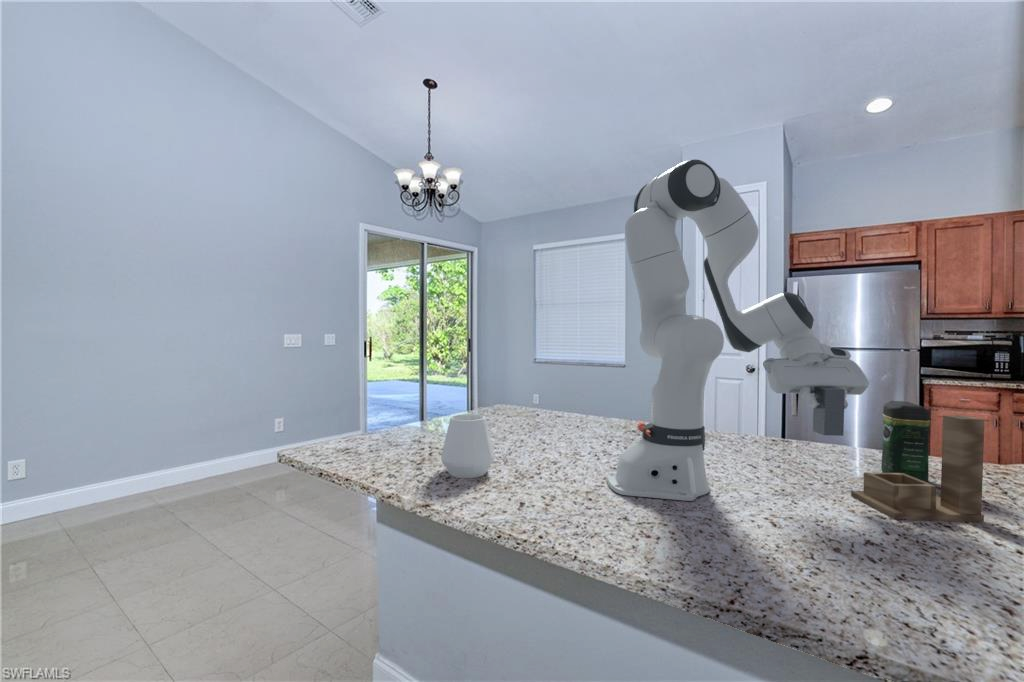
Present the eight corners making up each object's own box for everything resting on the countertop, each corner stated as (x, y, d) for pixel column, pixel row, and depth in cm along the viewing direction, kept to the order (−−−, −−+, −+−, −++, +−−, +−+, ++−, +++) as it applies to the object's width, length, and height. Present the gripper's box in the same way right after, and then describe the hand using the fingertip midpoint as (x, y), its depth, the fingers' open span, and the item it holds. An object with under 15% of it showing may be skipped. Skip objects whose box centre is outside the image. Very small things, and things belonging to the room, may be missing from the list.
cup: (486, 462, 122) (486, 410, 122) (501, 478, 109) (501, 420, 109) (436, 466, 118) (436, 413, 118) (446, 483, 105) (446, 424, 105)
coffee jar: (934, 487, 104) (937, 406, 103) (891, 482, 107) (893, 404, 106) (915, 474, 113) (918, 400, 112) (876, 470, 116) (878, 398, 115)
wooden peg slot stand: (894, 519, 86) (897, 418, 86) (851, 496, 98) (853, 407, 98) (983, 521, 85) (987, 420, 85) (928, 497, 97) (931, 408, 97)
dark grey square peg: (824, 435, 98) (825, 389, 98) (812, 431, 102) (814, 386, 102) (843, 435, 98) (844, 389, 97) (831, 431, 102) (832, 386, 101)
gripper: (765, 349, 107) (787, 397, 97) (855, 350, 106) (886, 399, 96) (755, 367, 111) (775, 414, 102) (842, 368, 110) (870, 416, 101)
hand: (830, 407), depth 99 cm, fingers closed on dark grey square peg, 4 cm apart
